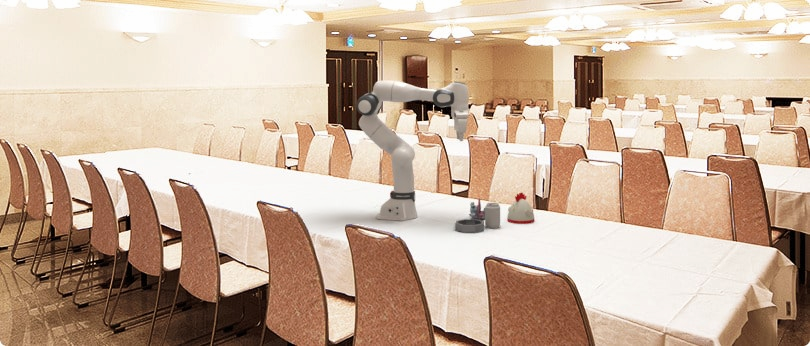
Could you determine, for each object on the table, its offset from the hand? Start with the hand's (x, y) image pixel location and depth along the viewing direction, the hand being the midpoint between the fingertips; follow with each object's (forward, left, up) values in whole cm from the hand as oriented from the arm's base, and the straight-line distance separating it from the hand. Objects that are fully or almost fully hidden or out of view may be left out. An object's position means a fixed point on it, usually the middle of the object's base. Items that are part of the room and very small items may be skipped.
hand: (460, 140), depth 338 cm
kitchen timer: (+31, 0, -42) cm, 53 cm away
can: (+17, -14, -42) cm, 48 cm away
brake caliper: (+9, +5, -42) cm, 44 cm away
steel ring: (+6, -21, -42) cm, 47 cm away
